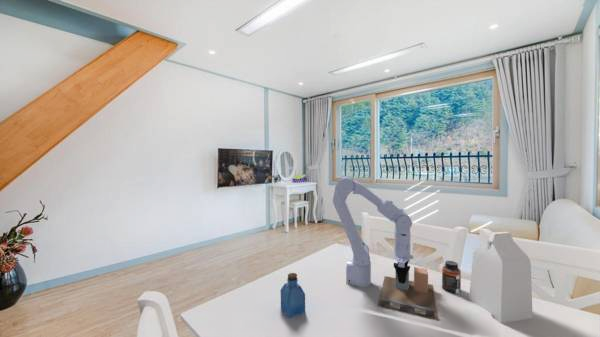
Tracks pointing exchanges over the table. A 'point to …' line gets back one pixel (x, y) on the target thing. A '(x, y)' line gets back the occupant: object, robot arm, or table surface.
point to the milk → (502, 279)
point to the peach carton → (420, 279)
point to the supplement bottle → (451, 277)
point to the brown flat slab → (408, 299)
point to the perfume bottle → (292, 296)
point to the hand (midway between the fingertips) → (402, 278)
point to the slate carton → (402, 285)
